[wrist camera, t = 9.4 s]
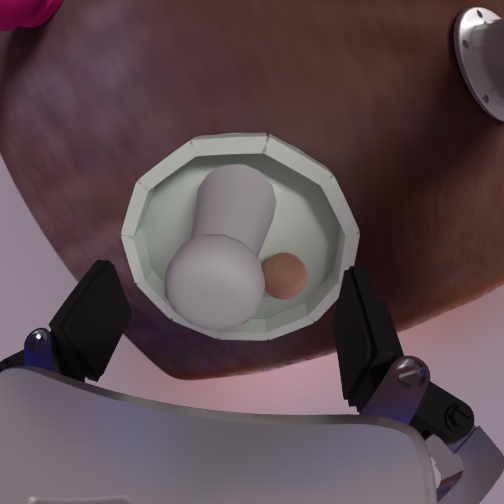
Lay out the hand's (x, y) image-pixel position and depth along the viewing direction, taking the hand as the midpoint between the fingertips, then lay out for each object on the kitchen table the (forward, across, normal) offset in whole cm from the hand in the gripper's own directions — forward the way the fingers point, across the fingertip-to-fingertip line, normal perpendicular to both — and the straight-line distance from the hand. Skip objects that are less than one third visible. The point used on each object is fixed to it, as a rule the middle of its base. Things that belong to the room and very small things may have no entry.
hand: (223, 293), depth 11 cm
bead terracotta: (+12, -2, +9) cm, 15 cm away
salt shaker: (+13, +1, +1) cm, 13 cm away
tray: (+14, +1, +6) cm, 15 cm away
